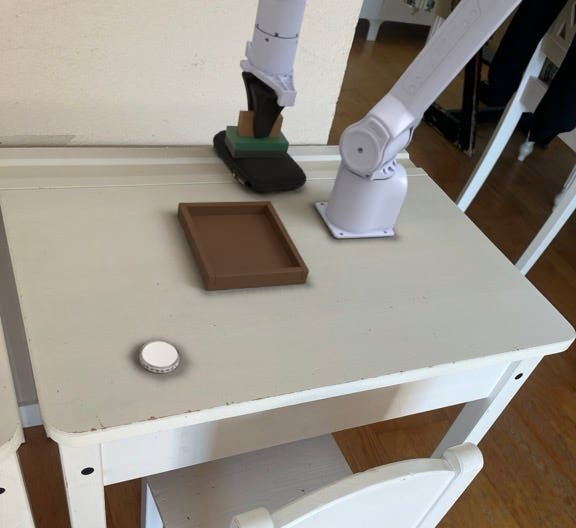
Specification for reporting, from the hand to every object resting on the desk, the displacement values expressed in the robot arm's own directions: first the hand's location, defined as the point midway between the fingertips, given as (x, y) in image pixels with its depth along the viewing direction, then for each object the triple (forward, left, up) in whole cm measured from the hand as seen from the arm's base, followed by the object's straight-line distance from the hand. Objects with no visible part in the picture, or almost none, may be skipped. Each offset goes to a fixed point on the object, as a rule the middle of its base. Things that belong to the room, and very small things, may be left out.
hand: (258, 131), depth 88 cm
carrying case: (0, 0, -6) cm, 6 cm away
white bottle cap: (+22, +35, -6) cm, 42 cm away
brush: (0, 0, -3) cm, 3 cm away
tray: (+8, +18, -6) cm, 21 cm away
